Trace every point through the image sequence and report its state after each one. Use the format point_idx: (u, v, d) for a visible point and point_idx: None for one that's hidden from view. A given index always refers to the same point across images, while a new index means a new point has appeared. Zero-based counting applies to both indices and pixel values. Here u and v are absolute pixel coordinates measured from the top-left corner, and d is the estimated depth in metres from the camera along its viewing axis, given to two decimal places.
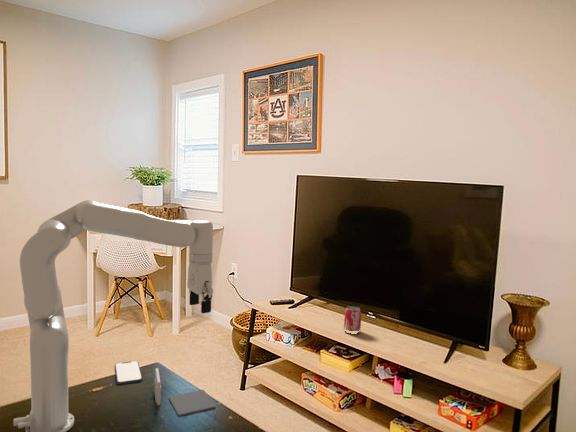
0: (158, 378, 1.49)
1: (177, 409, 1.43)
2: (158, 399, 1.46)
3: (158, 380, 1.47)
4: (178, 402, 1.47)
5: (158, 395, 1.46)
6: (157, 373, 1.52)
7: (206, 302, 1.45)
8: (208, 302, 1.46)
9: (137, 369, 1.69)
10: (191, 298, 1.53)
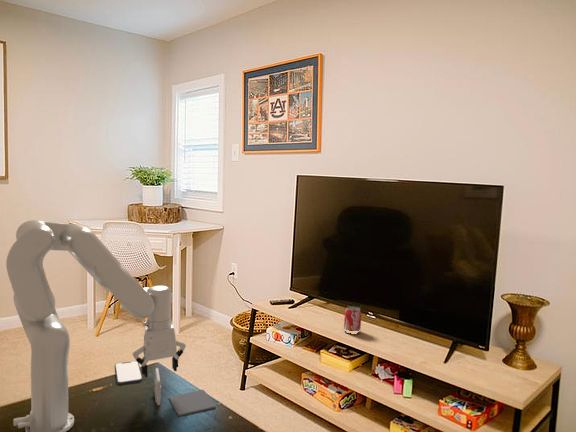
0: (158, 378, 1.49)
1: (177, 409, 1.43)
2: (158, 399, 1.46)
3: (158, 380, 1.47)
4: (178, 402, 1.47)
5: (158, 395, 1.46)
6: (157, 373, 1.52)
7: None
8: None
9: (137, 369, 1.69)
10: None
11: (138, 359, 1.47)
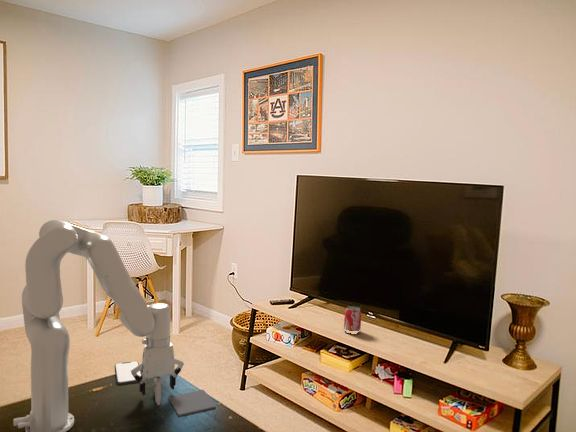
0: (158, 378, 1.49)
1: (177, 409, 1.43)
2: (158, 399, 1.46)
3: (158, 380, 1.47)
4: (178, 402, 1.47)
5: (158, 395, 1.46)
6: None
7: None
8: None
9: None
10: (144, 387, 1.48)
11: (136, 377, 1.47)
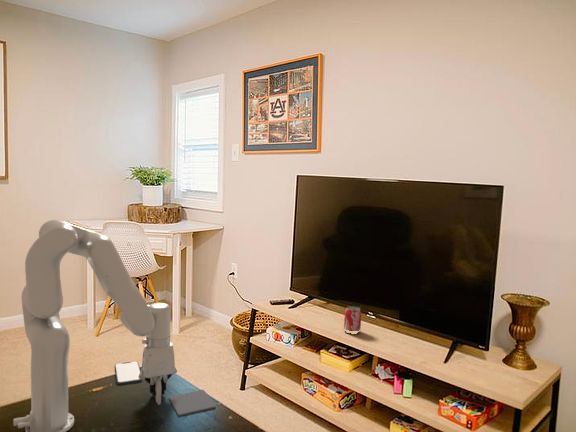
0: (158, 378, 1.49)
1: (177, 409, 1.43)
2: (158, 399, 1.46)
3: (158, 380, 1.47)
4: (178, 402, 1.47)
5: (158, 395, 1.46)
6: None
7: None
8: None
9: (137, 369, 1.69)
10: (155, 389, 1.50)
11: (146, 378, 1.49)
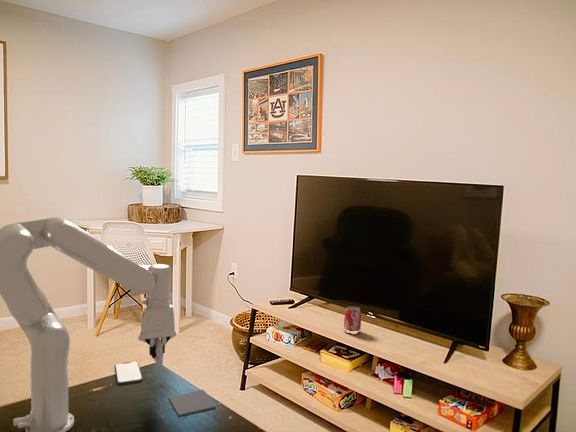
0: (159, 340, 1.47)
1: (177, 409, 1.43)
2: (161, 360, 1.45)
3: (160, 342, 1.46)
4: (178, 402, 1.47)
5: (161, 356, 1.45)
6: None
7: None
8: None
9: (137, 369, 1.69)
10: (154, 351, 1.48)
11: (146, 340, 1.47)
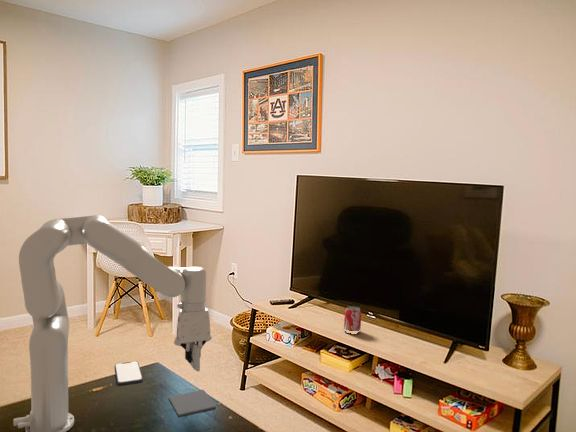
0: (195, 344, 1.44)
1: (177, 409, 1.43)
2: (198, 365, 1.42)
3: (196, 346, 1.43)
4: (178, 402, 1.47)
5: (198, 361, 1.42)
6: None
7: None
8: None
9: (137, 369, 1.68)
10: None
11: (182, 344, 1.44)
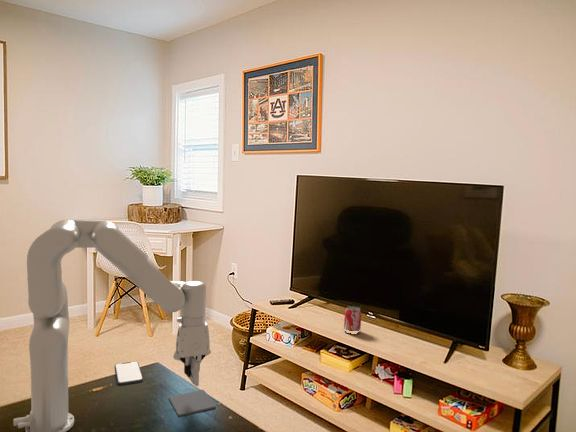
0: (194, 359, 1.44)
1: (177, 409, 1.43)
2: (197, 380, 1.42)
3: (195, 360, 1.43)
4: (178, 402, 1.47)
5: (197, 376, 1.42)
6: None
7: None
8: None
9: (138, 369, 1.68)
10: None
11: (181, 358, 1.44)
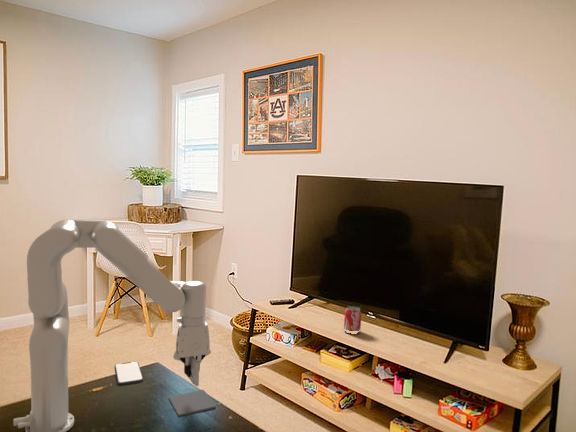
0: (194, 359, 1.44)
1: (177, 409, 1.43)
2: (197, 380, 1.42)
3: (195, 360, 1.43)
4: (178, 402, 1.47)
5: (197, 376, 1.42)
6: None
7: None
8: None
9: (138, 369, 1.68)
10: None
11: (181, 358, 1.44)
